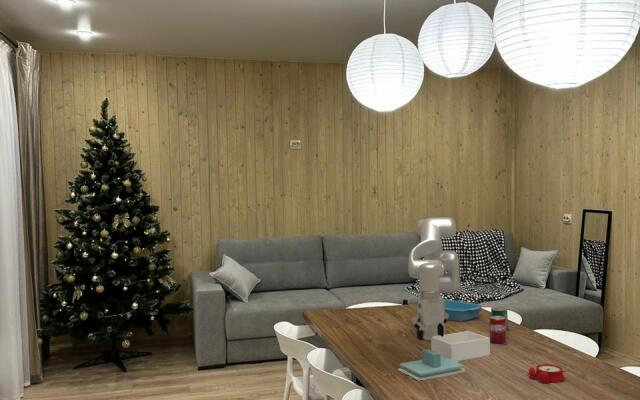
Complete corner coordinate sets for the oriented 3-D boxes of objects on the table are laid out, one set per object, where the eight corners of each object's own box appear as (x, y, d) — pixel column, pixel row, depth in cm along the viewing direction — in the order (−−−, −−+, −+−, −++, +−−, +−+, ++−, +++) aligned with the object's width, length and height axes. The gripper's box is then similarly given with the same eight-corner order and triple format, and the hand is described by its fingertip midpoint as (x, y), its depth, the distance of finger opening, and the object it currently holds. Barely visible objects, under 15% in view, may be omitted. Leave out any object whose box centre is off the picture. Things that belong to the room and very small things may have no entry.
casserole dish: (411, 315, 329) (410, 302, 329) (435, 308, 343) (434, 296, 343) (465, 325, 301) (465, 311, 301) (489, 318, 316) (489, 305, 316)
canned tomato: (506, 328, 291) (505, 306, 291) (509, 332, 283) (509, 310, 283) (490, 328, 292) (489, 307, 292) (493, 332, 284) (492, 310, 284)
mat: (398, 371, 229) (397, 368, 229) (443, 362, 238) (443, 360, 238) (418, 381, 216) (418, 378, 216) (465, 372, 225) (465, 369, 225)
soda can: (507, 345, 260) (506, 319, 260) (490, 345, 261) (490, 319, 261) (505, 341, 267) (505, 315, 267) (489, 341, 268) (488, 315, 268)
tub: (451, 363, 236) (451, 344, 236) (431, 355, 249) (431, 336, 248) (490, 356, 244) (489, 337, 244) (468, 348, 257) (468, 330, 257)
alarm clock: (573, 370, 213) (542, 367, 207) (570, 387, 213) (540, 384, 207) (551, 362, 223) (522, 359, 217) (549, 379, 222) (519, 376, 216)
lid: (420, 378, 216) (419, 360, 216) (399, 368, 229) (399, 351, 229) (467, 369, 225) (467, 352, 225) (444, 359, 238) (444, 343, 238)
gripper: (416, 299, 219) (417, 343, 220) (453, 293, 227) (454, 336, 227) (405, 295, 226) (406, 338, 227) (441, 290, 233) (442, 332, 234)
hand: (430, 337), depth 227 cm, fingers open, 9 cm apart
